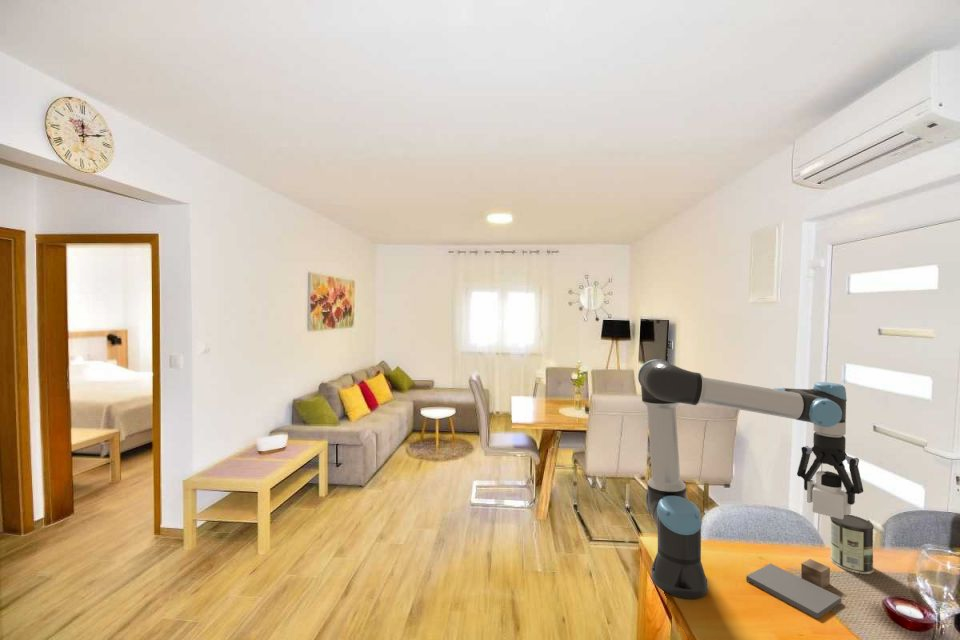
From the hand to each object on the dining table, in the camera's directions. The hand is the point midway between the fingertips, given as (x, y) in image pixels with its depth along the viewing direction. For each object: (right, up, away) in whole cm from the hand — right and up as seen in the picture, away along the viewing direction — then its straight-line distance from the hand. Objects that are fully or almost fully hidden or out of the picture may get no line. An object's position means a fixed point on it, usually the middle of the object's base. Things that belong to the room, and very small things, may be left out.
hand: (828, 507), depth 128 cm
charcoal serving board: (-17, -21, -8) cm, 28 cm away
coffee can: (+11, -21, +5) cm, 24 cm away
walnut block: (-7, -21, -4) cm, 22 cm away
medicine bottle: (0, -2, 0) cm, 2 cm away
